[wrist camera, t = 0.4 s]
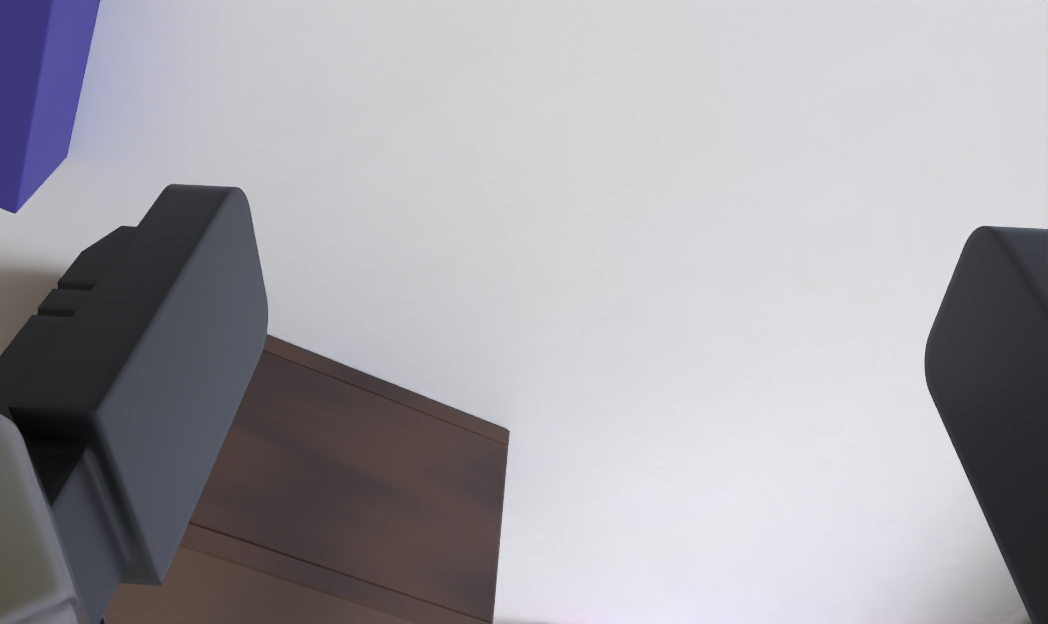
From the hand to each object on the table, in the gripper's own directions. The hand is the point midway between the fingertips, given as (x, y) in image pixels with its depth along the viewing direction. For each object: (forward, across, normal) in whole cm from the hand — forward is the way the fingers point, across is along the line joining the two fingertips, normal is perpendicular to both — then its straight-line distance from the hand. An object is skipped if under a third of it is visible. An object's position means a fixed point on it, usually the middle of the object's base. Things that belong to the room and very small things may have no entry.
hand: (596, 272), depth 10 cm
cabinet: (+18, +12, +24) cm, 32 cm away
